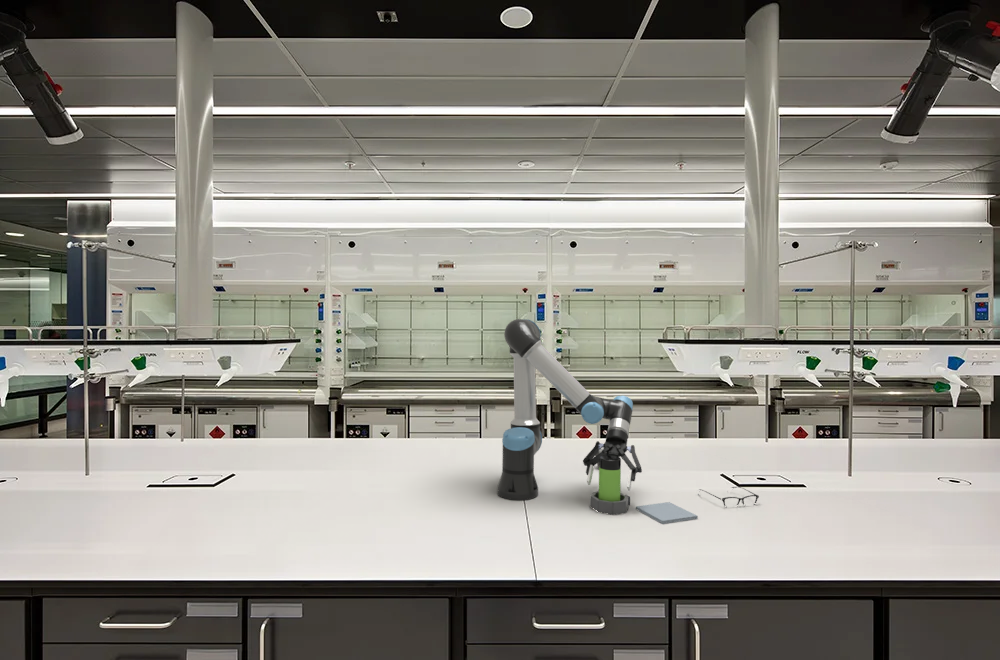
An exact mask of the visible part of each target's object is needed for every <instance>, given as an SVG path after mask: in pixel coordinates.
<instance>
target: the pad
mask: <svg viewBox="0 0 1000 660" xmlns="http://www.w3.org/2000/svg"><path fill="white" fill-rule="evenodd" d="M636 509H638V510H639V511H638V510H637V511H638V512H640V513H642V514H644V515H645V516H647V517H649V518H650V519H652V520H655V521H656V522H658V523H660V524H662V525H665V524H672V523H678V522H685V521H692V520H697V519H698V518H699V516H698V515H697V514H696V513H695V514H694V513H693V512H691V511H689V510H687V509H685V508H682V507H680V506H678V505H676V504H674V503H672V502H671V501H668V502H660V503H651V504H650V503H649V504H645V505H644V504H642V505H636V506H635V510H636Z"/></svg>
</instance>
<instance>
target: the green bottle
mask: <svg viewBox="0 0 1000 660" xmlns="http://www.w3.org/2000/svg"><path fill="white" fill-rule="evenodd" d="M621 467H622V458H621V457H617V456H610V455H605V456H600V457H599V470H598V491H599V500H604V501H611V502H614V501H620V493H621V480H622V479H621V476H622V474H621V473H622V470H621V469H622V468H621Z"/></svg>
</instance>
